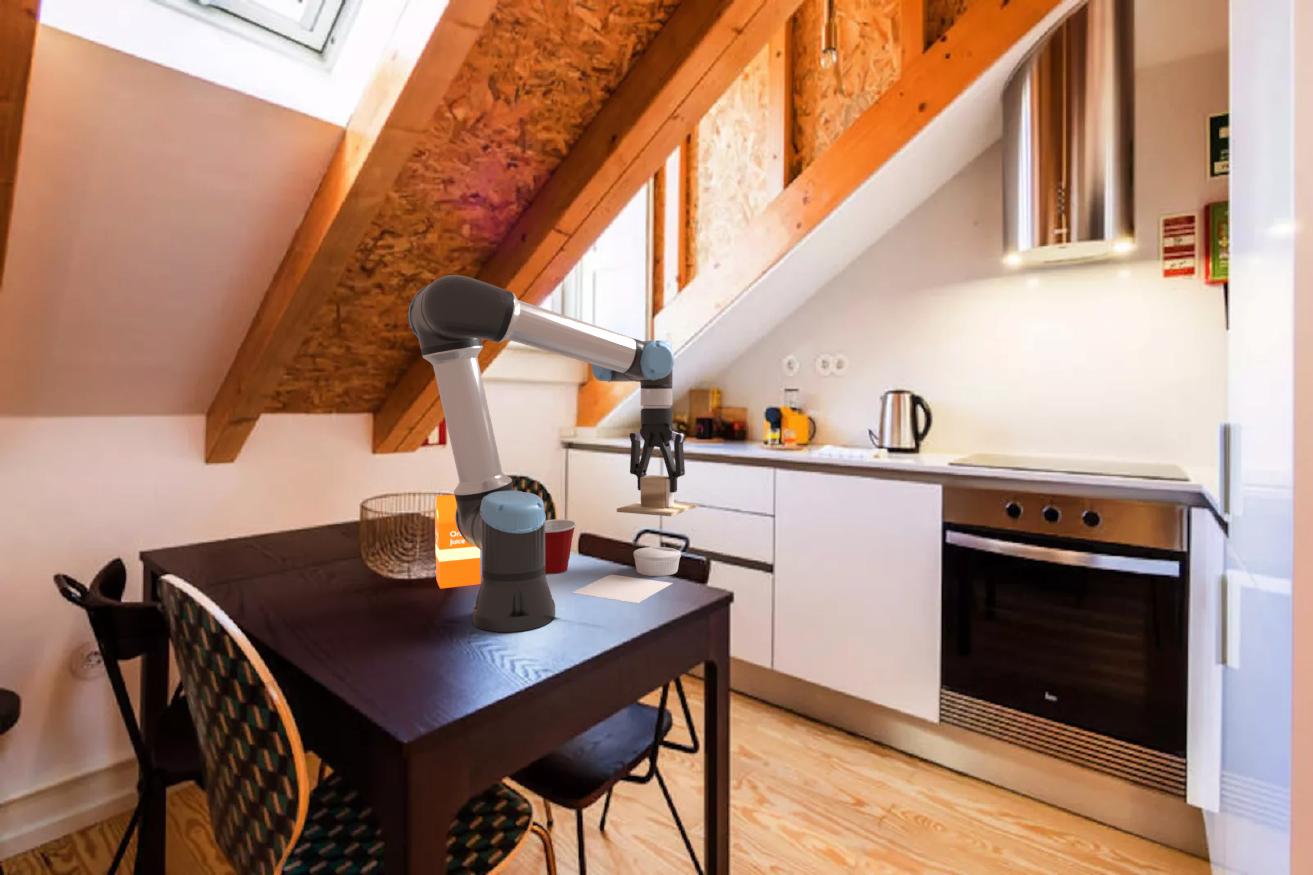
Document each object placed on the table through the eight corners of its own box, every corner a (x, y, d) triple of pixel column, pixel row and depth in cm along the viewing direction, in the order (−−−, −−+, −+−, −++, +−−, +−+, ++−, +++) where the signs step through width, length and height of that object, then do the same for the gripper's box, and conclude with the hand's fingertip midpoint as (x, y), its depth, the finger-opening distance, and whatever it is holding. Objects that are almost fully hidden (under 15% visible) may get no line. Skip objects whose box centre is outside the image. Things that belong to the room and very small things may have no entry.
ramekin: (685, 569, 159) (685, 547, 158) (675, 581, 148) (675, 558, 148) (640, 566, 161) (640, 545, 161) (628, 578, 151) (627, 555, 150)
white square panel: (637, 606, 130) (637, 603, 130) (571, 595, 137) (571, 592, 137) (672, 585, 144) (672, 583, 144) (610, 577, 151) (610, 574, 151)
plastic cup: (521, 575, 153) (520, 524, 152) (550, 565, 162) (549, 517, 162) (558, 581, 148) (557, 529, 147) (586, 570, 157) (585, 521, 156)
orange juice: (480, 584, 146) (479, 495, 145) (439, 588, 142) (437, 498, 141) (475, 575, 153) (473, 491, 152) (435, 579, 149) (433, 493, 148)
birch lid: (670, 516, 144) (670, 481, 144) (616, 512, 151) (616, 478, 150) (696, 507, 157) (696, 475, 156) (645, 503, 163) (645, 472, 163)
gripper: (700, 407, 151) (700, 505, 153) (629, 407, 160) (630, 500, 161) (686, 407, 145) (687, 510, 146) (613, 407, 153) (614, 504, 155)
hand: (657, 505), depth 154 cm, fingers closed on birch lid, 6 cm apart
